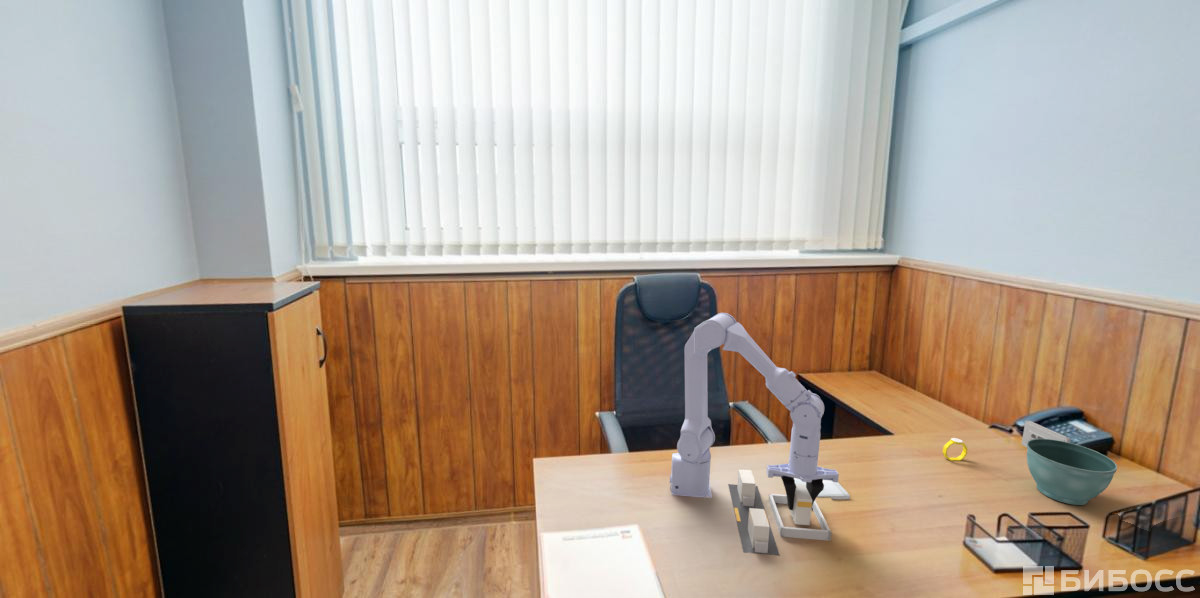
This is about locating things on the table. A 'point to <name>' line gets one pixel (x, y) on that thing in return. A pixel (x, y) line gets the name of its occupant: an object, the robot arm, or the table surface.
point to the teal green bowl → (1068, 470)
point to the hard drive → (830, 489)
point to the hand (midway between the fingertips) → (798, 508)
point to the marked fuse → (801, 505)
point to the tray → (799, 532)
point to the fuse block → (742, 522)
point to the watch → (959, 442)
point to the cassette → (1040, 433)
